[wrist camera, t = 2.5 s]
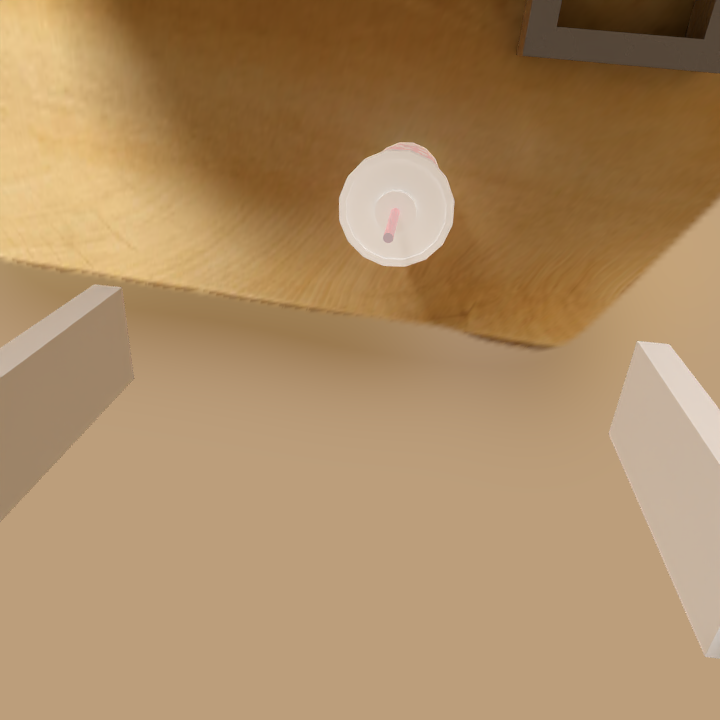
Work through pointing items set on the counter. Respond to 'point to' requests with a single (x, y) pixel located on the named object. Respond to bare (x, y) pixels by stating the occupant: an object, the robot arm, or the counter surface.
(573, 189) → the counter surface
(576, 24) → the counter surface
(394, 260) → the beverage cup
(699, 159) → the counter surface
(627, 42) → the socket collar
